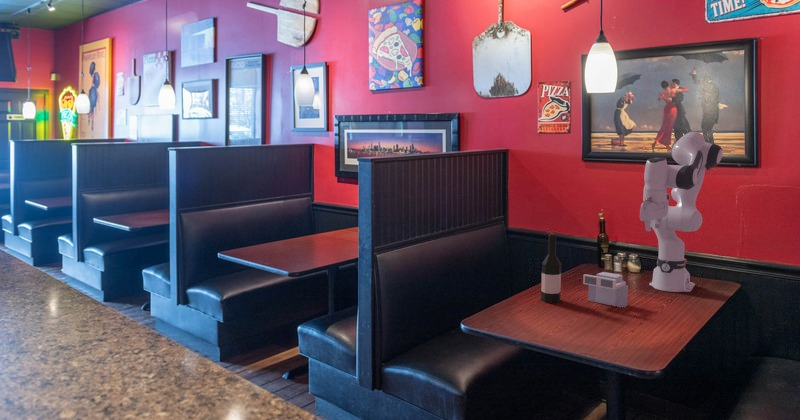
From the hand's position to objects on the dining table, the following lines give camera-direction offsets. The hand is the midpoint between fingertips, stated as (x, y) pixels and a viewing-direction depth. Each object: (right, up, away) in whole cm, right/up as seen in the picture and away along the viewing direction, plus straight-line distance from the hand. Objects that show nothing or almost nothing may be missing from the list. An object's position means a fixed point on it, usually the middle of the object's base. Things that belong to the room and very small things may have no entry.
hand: (653, 229), depth 254 cm
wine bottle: (-39, -32, +14) cm, 53 cm away
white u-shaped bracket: (-19, -24, +6) cm, 31 cm away
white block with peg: (-18, -32, +8) cm, 38 cm away
